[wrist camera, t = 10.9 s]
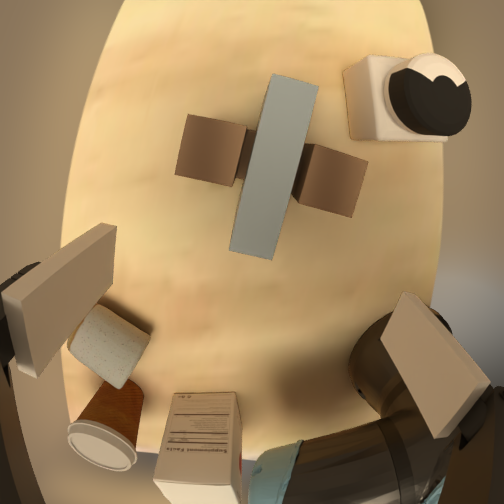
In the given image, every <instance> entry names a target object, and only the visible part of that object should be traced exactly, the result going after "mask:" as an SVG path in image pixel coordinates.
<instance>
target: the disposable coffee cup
mask: <svg viewBox="0 0 504 504" xmlns="http://www.w3.org/2000/svg"><path fill="white" fill-rule="evenodd" d="M143 398H144V395H143V393H142V391H141V389H140V388H139V387H138V386H137V385H136V384H135V383H134V382H132V381H130V380H128V379H127V381H126V382H125V384H124V385H123V387H122V388H121V389H117V388H116V387H114V386H113V385H111V384H110V383H109V382H107V381H106V380H105V381H104V383H103V384H102V386H101V387H100V388H99V390H98V391H97V392H96V394H95V395H94V396H93V398H92V399H91V401H90V402H89V403H88V405H87V406H86V408H85V409H84V410H83V412H82V413H81V415H80V416H79V417H78V419H77V420H76V421H74V422H73V423H71V424H70V425H69V427H68V442H69V444H70V446H71V447H72V448H73V449H74V450H75V452H76V453H78V454H79V455H80V456H81V457H83V458H84V459H86V460H87V461H89V462H91V463H93V464H95V465H97V466H99V467H102V468H105V469H109V470H113V471H126V470H128V469H129V468H130V467H131V465H132V464H134V463H135V462H136V461H137V454H136V442H137V435H138V428H139V423H140V416H141V410H142V404H143Z"/></svg>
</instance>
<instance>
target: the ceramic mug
mask: <svg viewBox="0 0 504 504" xmlns="http://www.w3.org/2000/svg"><path fill="white" fill-rule="evenodd" d="M150 339H151V337H150V336H149V335H148V334H147V333H145V332H143V331H141V330H140V329H138V328H137V327H135V326H134V325H132V324H130V323H129V322H127V321H126V320H124V319H122V318H121V317H119V316H118V315H116V314H115V313H114V312H112V311H111V310H109V309H108V308H106V307H104V306H102V305H99V304H95V305H94V306H93V308H92V309H91V310H90V311H89V312H88V314H87V315H86V316H85V317H84V319H83V320H82V321H81V322H80V323H79V325H78V326H77V327H76V328H75V330H74V331H73V332H72V334H71V335H70V336H69V338H68V341H67V348H68V350H69V351H70V353H71V354H72V355H73V356H74V357H75V358H76V359H77V360H79V361H80V362H81V363H83V364H84V365H85V366H87V367H88V368H89V369H91V370H92V371H94V372H95V373H96V374H98V375H99V376H100V377H102V378H103V379H104V380H106V381H107V382H109V383H110V384H111V385H113V386H114V387H116V388H117V389H121V388H122V387H123V385H124V384H125V382H126V381H127V379H128V377H129V376H130V375H131V373H132V371H133V370H134V368H135V366H136V364H137V362H138V361H139V359H140V357H141V356H142V354H143V352H144V350H145V348H146V346H147V345H148V343H149V341H150Z"/></svg>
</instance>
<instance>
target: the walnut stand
mask: <svg viewBox="0 0 504 504" xmlns="http://www.w3.org/2000/svg"><path fill="white" fill-rule="evenodd" d="M255 135H256V131H252V130H248V129H247V126H244V125H240V124H235V123H231V122H226V121H221V120H216V119H211V118H206V117H201V116H195V115H189V114H188V116H187V120H186V124H185V128H184V132H183V137H182V141H181V146H180V150H179V155H178V160H177V165H176V170H175V175H178V176H183V177H188V178H193V179H198V180H202V181H207V182H212V183H216V184H221V185H225V186H229V187H232V186H233V183H234V180H235V178H239V179H244V180H245V176H246V172H247V167H248V163H249V159H250V155H251V151H252V147H253V143H254V139H255ZM367 165H368V161H365V160H362V159H359V158H356V157H353V156H350V155H347V154H344V153H341V152H338V151H335V150H332V149H329V148H326V147H323V146H319V145H316V144H304V146H303V149H302V153H301V157H300V161H299V165H298V168H297V172H296V176H295V179H294V183H293V187H292V191H291V194H292V195H293V197H294V198H295V199H296V201H297V202H298V203H299V204H303V205H306V206H310V207H314V208H318V209H321V210H325V211H328V212H332V213H336V214H339V215H343V216H346V217H350V218H352V215H353V212H354V209H355V205H356V202H357V199H358V196H359V192H360V189H361V186H362V182H363V179H364V176H365V172H366V169H367Z"/></svg>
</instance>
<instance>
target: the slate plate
mask: <svg viewBox="0 0 504 504" xmlns="http://www.w3.org/2000/svg"><path fill="white" fill-rule="evenodd" d="M318 87H319V86H316V85H313V84H309V83H306V82H302V81H299V80H295V79H292V78H288V77H284V76H280V75H276V74H272V76H271V79H270V82H269V85H268V88H267V91H266V94H265V97H264V101H263V105H262V109H261V113H260V116H259V120H258V124H257V131H256V135H255V139H254V143H253V147H252V151H251V155H250V159H249V163H248V167H247V172H246V176H245V180H244V183H243V185H242V189H241V193H240V198H239V202H238V206H237V210H236V214H235V220H234V225H233V230H232V236H231V241H230V247H229V251H233V252H238V253H242V254H247V255H251V256H256V257H260V258H265V259H269V260H272V259H273V255H274V252H275V248H276V245H277V241H278V238H279V234H280V230H281V227H282V223H283V220H284V216H285V212H286V209H287V205H288V202H289V198H290V194H291V191H292V187H293V183H294V179H295V176H296V172H297V168H298V165H299V161H300V157H301V153H302V149H303V146H304V142H305V138H306V134H307V130H308V127H309V123H310V119H311V115H312V111H313V107H314V103H315V99H316V95H317V91H318Z"/></svg>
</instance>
